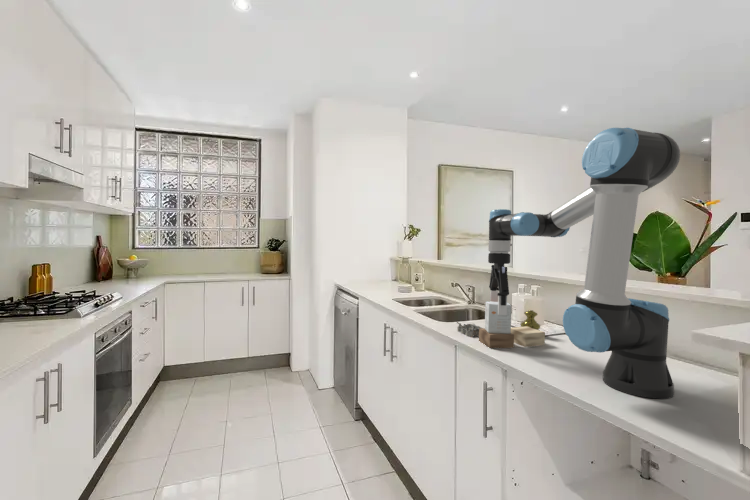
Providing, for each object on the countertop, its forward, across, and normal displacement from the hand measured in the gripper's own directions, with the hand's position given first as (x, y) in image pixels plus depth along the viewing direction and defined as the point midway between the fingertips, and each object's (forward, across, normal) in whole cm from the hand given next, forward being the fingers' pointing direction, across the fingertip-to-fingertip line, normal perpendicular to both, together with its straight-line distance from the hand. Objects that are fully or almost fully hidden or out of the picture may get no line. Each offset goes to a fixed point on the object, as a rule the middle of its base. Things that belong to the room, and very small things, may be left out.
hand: (497, 311), depth 130 cm
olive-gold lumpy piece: (+12, +18, -17) cm, 27 cm away
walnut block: (+12, 0, 0) cm, 13 cm away
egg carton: (+12, +15, +8) cm, 21 cm away
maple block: (+12, +5, -12) cm, 18 cm away
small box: (+8, 0, 0) cm, 8 cm away
